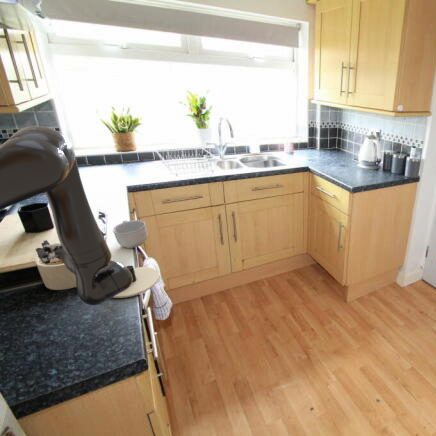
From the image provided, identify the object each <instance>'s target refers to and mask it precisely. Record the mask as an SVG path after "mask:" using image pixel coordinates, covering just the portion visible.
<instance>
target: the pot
mask: <svg viewBox="0 0 436 436" xmlns="http://www.w3.org/2000/svg"><path fill="white" fill-rule="evenodd" d="M35 265H36V267H37V270H38V273H39V275H40V277H41V280H42V282H43V284H44V286H45V287H46V288H47V289H49V290H52V291H62V290H70V289H74V288H77V286H76V276H75V275H74V274H73V273H72V272H71V271H70V270H68V269H67V267H66V265H65V264H60V262H56V263H48V264H44V262H43V261H42V260H41V259H40V258H39V257H38V256H37V257H36V258H35Z"/></svg>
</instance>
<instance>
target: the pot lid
mask: <svg viewBox="0 0 436 436" xmlns="http://www.w3.org/2000/svg"><path fill="white" fill-rule="evenodd" d="M125 267H127V268H128V269H129V271H130V272H131V274H132V278H133V280H132V284H131V286H130V287H129V288H128V289H126V290H125V291H123V292H121V293H119V294H117V295H116V296H114V297H112V299H113V298H114V299H123V298H130V297H134V296H138V295H141V294H143V293H145V292H147V291H149V290H150V289H152V288H153V287H155V286H156V285H157V283H158V282H159V281H160V278H161V274H160V272H159V271H158V270H157V269H156V268H153V267H149V266H139V267H138V266H137V267H134V265H127V266H125Z"/></svg>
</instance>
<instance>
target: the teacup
mask: <svg viewBox="0 0 436 436" xmlns="http://www.w3.org/2000/svg"><path fill="white" fill-rule="evenodd" d="M112 233H113V234H114V237H115V240H116V241H117V243H118V245H119V246H120V247H123V248H127V249H133V248H138V247H140V246H143V244H145V242H146V241H147V240H148V237H149V233H148V228H147V225H146V222H145V221H144V220H139V219H136V220H135V219H134V220H127V219H125V220H123V221H122V222H121V223H118V224H117V225H116V226H114V227H113V228H112Z"/></svg>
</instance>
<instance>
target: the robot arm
mask: <svg viewBox="0 0 436 436" xmlns="http://www.w3.org/2000/svg"><path fill="white" fill-rule="evenodd" d="M77 161H78V160H77V157H76V153H75V149H74V147H73V145H72V143H71V142H70V140H69V139H68V138H66V136H65V135H64V134H62V133H61V132H59V131H57V130H56V129H54V128H50V127H48V126H43V125H30V126H26V127H23V128H21V129H19V130H18V131H16V132H15V133H13V134H12V135H11V136H10V137H9V138H8V139H6V141H4V143H2V144H1V145H0V211H3V210H5V209H8V208H9V207H12V206H13V205H16V204H20V203H21V202H24V201H26V200H27V201H28V200H29V199H32V198H34V197H37V196H39V195H42V194H45V197H46V198H47V201H48V203H49V206H50V210H51V215H52V218H53V223H54V226H55V231H56V234H57V238H58V241H59V243H57V242H56V243H55V242H54V243H53V244H50V242H49V241H48V240H47V239H45V240H43V242H41V246H42V247H37V248H35V251H36V254H37V257H39V258H40V259H41V260H42V261H43V262H44V263H45V264H48V263H50V260H51V259H54V258H58V259H61V260H62V262H63V263H64V264H65V265H66V267H67V269H68V270H70V271H71V272H72V273H73V274H74V275H75V276H76V286H77V287H76V292H77V295H78V297H79V299H80V300H81V301H82V302H83V303H84V304H86V305H89V306H98V305H100V304H102V303H104V302H107V301H109V300H110V299H113V297H114V296H116V295H117V294H119V293H121V292H123V291H125V290H126V289H128V288H129V287H130V286H131V284H132V280H133V278H132V274H131V272H130V271H129V269H128V268H127V267H126V266H125V265H124V264H123V263H121V262H118V261H116V260H113V259H112V252H111V249H110V248H109V246H108V245H109V244H107V241H106V239H105V237H104V235H103V233H102V231H101V228H100V227H99V225H98V222H97V220H96V218H95V215H94V213H93V210H92V208H91V206H90V205H91V204H90V203H89V201H88V197H87V194H86V191H85V189H84V184H83V181H82V178H81V173H80V170H79V166H78V165H79V164H78V162H77ZM58 247H59V248H58Z"/></svg>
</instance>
